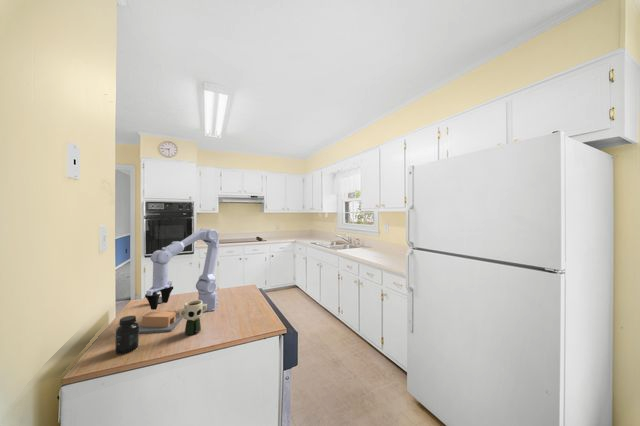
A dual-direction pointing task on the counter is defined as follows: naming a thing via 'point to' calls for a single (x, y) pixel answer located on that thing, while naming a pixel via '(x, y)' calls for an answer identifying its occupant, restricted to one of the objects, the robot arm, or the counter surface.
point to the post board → (159, 329)
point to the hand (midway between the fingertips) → (159, 305)
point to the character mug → (193, 315)
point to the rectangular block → (158, 319)
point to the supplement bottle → (127, 335)
